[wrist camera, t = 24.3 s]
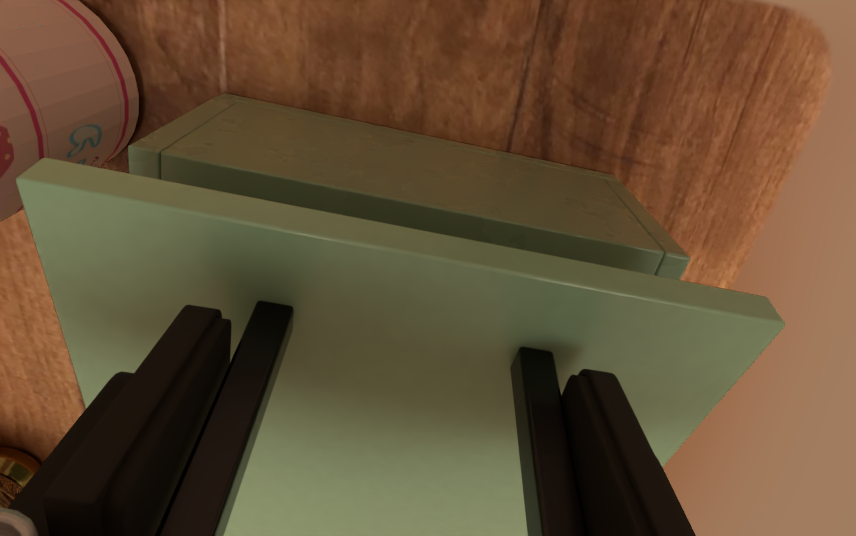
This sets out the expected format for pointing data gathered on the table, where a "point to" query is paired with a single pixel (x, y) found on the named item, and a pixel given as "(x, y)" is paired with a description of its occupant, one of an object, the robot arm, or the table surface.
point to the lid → (374, 355)
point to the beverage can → (59, 90)
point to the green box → (408, 182)
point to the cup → (14, 473)
